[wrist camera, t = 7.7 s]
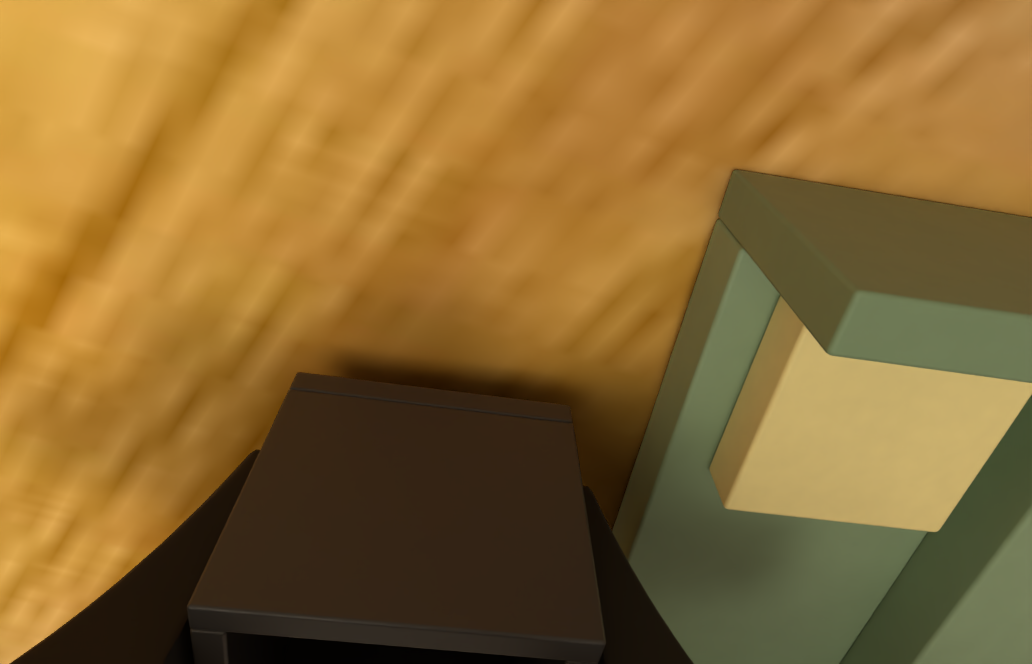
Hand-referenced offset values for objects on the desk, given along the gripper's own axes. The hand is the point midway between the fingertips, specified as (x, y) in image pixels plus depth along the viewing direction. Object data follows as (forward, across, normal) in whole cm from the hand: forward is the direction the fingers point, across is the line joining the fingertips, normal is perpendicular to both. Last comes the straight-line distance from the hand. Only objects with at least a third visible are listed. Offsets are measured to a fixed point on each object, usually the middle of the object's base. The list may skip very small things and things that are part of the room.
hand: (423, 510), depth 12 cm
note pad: (0, -7, -4) cm, 8 cm away
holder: (0, 0, 0) cm, 0 cm away
